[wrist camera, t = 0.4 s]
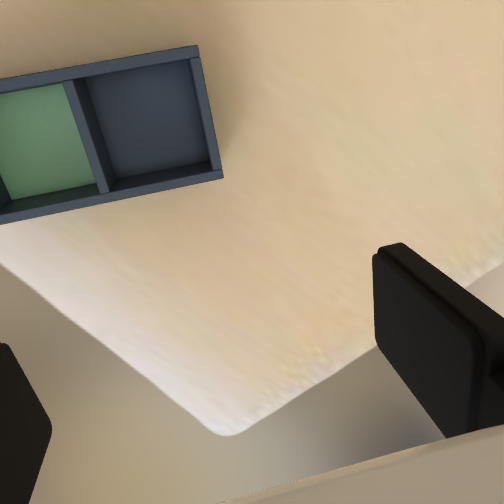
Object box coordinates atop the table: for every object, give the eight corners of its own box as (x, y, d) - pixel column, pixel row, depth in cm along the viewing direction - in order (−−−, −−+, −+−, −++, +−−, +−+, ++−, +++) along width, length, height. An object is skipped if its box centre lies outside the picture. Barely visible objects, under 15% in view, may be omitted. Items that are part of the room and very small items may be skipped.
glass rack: (-45, 90, 32) (-82, 93, 27) (194, 48, 33) (197, 44, 29) (9, 208, 36) (-15, 228, 31) (217, 165, 38) (224, 178, 33)
